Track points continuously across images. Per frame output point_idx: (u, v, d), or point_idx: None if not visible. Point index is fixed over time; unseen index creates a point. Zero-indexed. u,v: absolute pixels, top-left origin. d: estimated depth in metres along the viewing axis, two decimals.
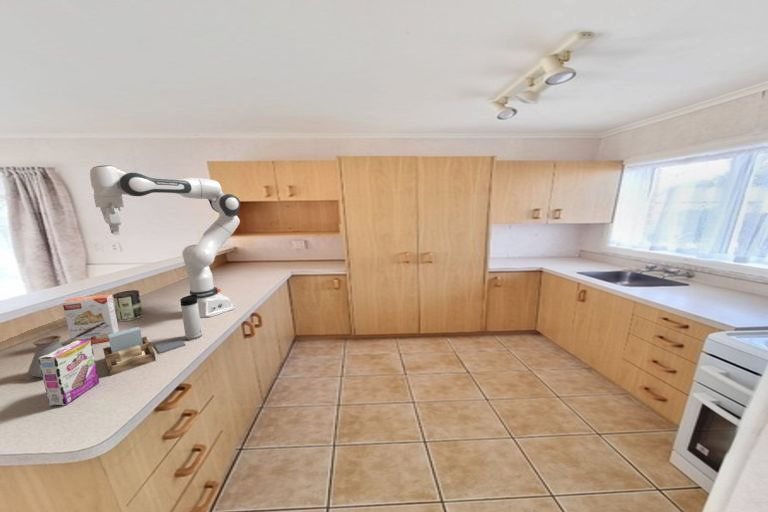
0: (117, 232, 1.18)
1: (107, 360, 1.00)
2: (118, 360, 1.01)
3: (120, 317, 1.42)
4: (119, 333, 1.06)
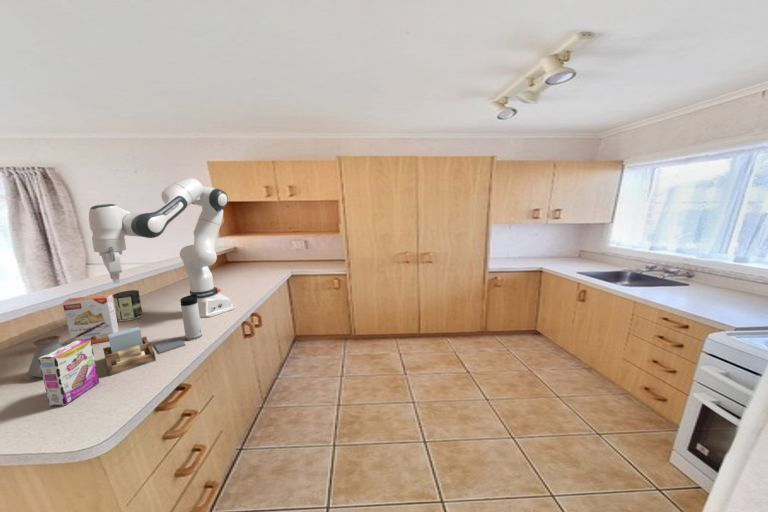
0: (117, 280, 1.03)
1: (107, 360, 1.00)
2: (118, 360, 1.01)
3: (120, 317, 1.42)
4: (119, 333, 1.06)
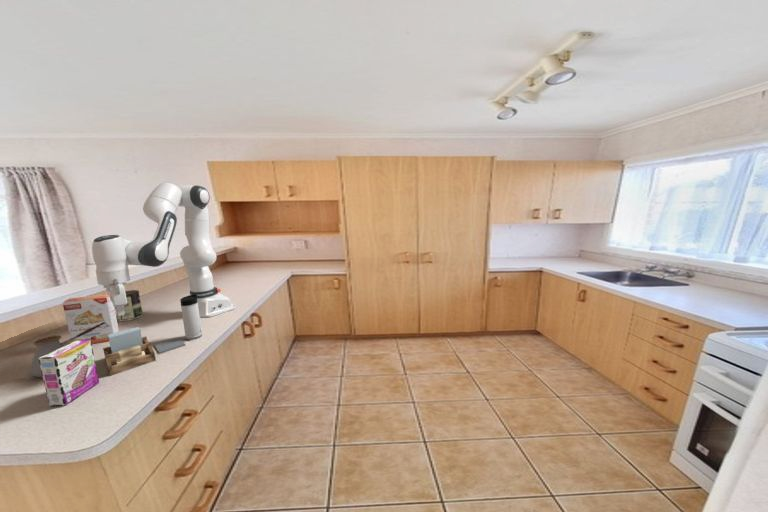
0: (122, 312, 1.02)
1: (107, 360, 1.00)
2: (118, 360, 1.01)
3: (120, 317, 1.42)
4: (119, 333, 1.06)
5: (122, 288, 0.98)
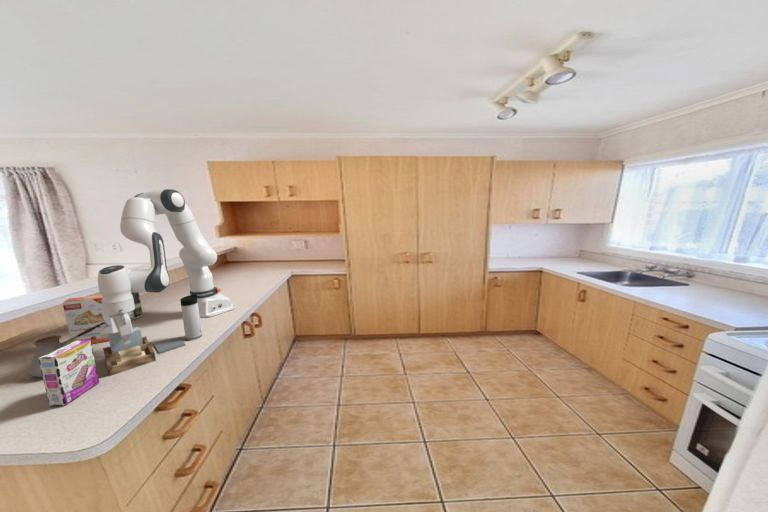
0: (128, 341, 1.04)
1: (107, 360, 1.00)
2: (118, 360, 1.01)
3: None
4: None
5: (128, 318, 1.01)
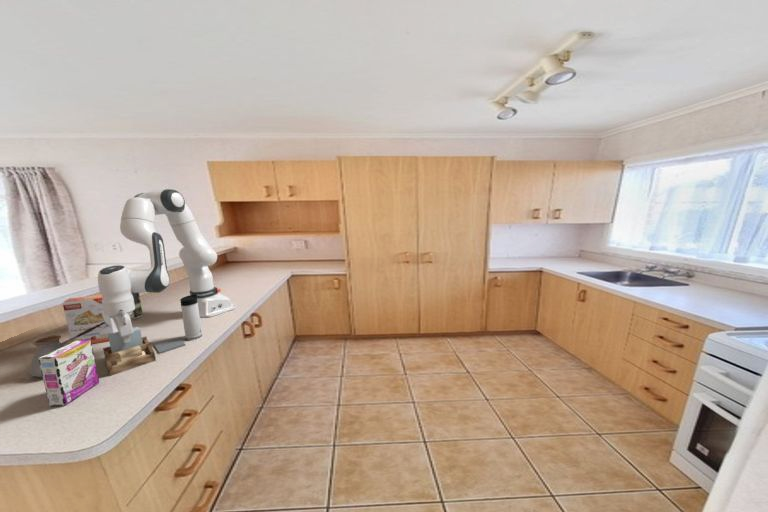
0: (127, 339, 1.05)
1: (107, 360, 1.00)
2: (118, 360, 1.01)
3: None
4: None
5: (128, 319, 1.01)
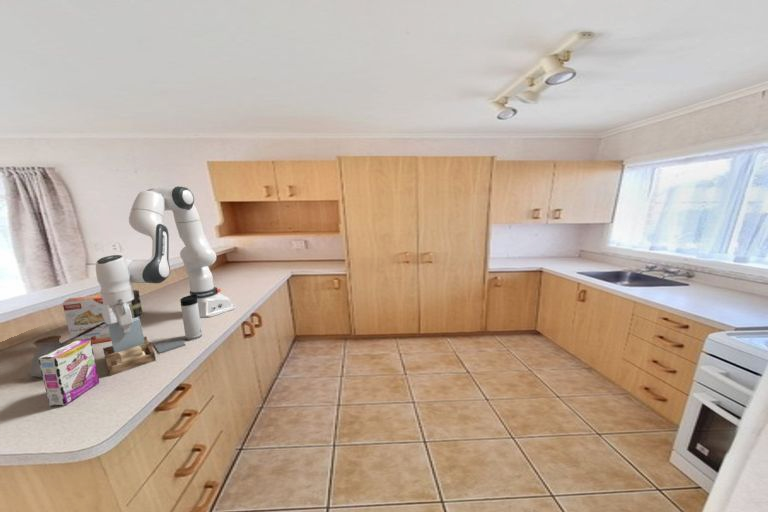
0: (127, 329, 1.05)
1: (107, 360, 1.00)
2: (118, 360, 1.01)
3: None
4: None
5: (127, 308, 1.00)
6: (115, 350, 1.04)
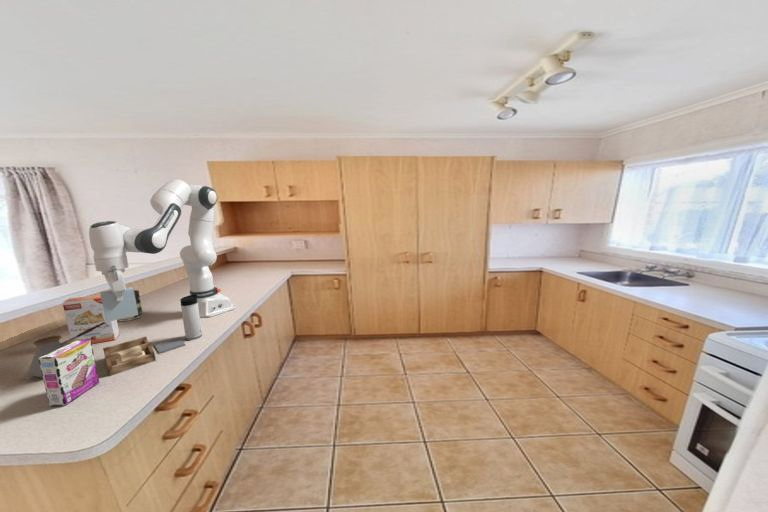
0: (120, 297, 1.02)
1: (107, 360, 1.00)
2: (118, 360, 1.01)
3: None
4: (111, 291, 1.03)
5: (120, 274, 0.98)
6: (107, 319, 1.01)
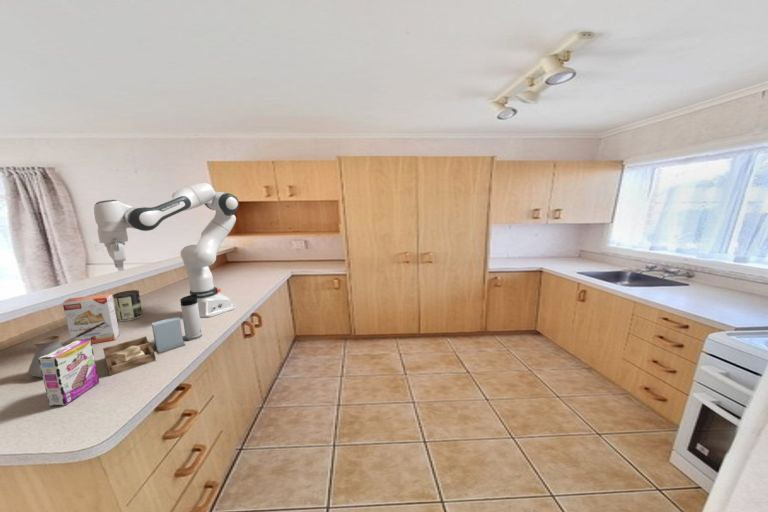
0: (121, 268, 1.15)
1: (107, 360, 1.00)
2: (117, 360, 1.01)
3: (120, 317, 1.42)
4: (161, 322, 1.14)
5: (121, 245, 1.11)
6: (158, 347, 1.13)
